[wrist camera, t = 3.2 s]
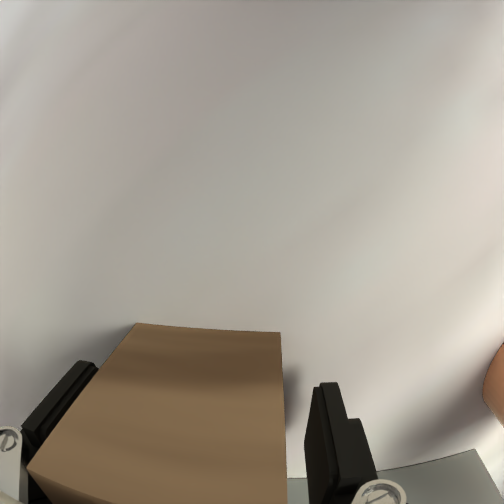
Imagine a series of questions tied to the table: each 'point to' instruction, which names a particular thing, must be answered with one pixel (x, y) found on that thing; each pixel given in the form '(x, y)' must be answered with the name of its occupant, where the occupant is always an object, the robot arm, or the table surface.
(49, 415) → the robot arm
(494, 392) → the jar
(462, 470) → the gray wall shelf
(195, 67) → the table surface
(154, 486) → the walnut block
